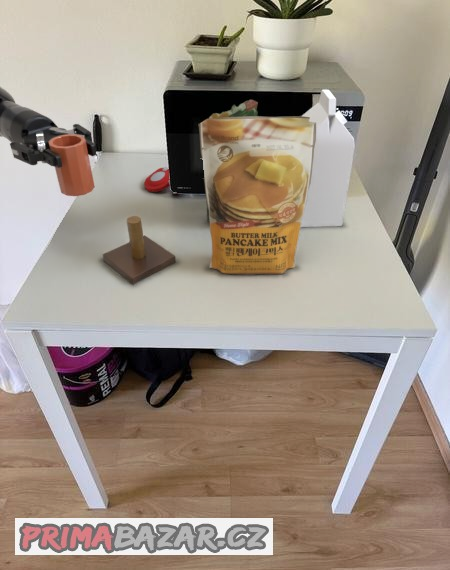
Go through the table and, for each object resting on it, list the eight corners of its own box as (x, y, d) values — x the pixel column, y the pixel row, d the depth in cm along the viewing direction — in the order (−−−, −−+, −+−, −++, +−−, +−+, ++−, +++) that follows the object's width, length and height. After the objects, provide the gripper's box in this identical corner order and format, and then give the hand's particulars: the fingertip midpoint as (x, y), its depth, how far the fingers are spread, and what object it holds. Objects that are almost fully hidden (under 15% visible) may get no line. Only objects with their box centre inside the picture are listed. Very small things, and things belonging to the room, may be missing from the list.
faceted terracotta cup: (63, 198, 79) (51, 150, 73) (58, 184, 83) (46, 137, 77) (97, 192, 80) (87, 144, 75) (90, 178, 85) (81, 132, 79)
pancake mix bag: (202, 254, 88) (198, 111, 70) (297, 255, 88) (318, 112, 71) (201, 275, 83) (197, 126, 65) (303, 275, 83) (326, 127, 65)
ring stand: (133, 284, 81) (126, 241, 75) (103, 260, 86) (94, 218, 80) (175, 262, 86) (172, 220, 80) (145, 241, 92) (140, 200, 86)
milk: (281, 200, 106) (293, 85, 89) (328, 199, 106) (349, 84, 90) (290, 227, 96) (305, 104, 80) (342, 226, 97) (367, 103, 80)
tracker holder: (135, 187, 108) (153, 162, 113) (143, 201, 111) (159, 176, 116) (178, 185, 102) (194, 159, 108) (185, 200, 105) (200, 174, 111)
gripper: (-15, 119, 78) (32, 147, 69) (58, 101, 86) (108, 123, 78) (-2, 160, 83) (44, 190, 74) (66, 139, 91) (115, 163, 82)
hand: (77, 156), depth 76 cm, fingers closed on faceted terracotta cup, 6 cm apart
